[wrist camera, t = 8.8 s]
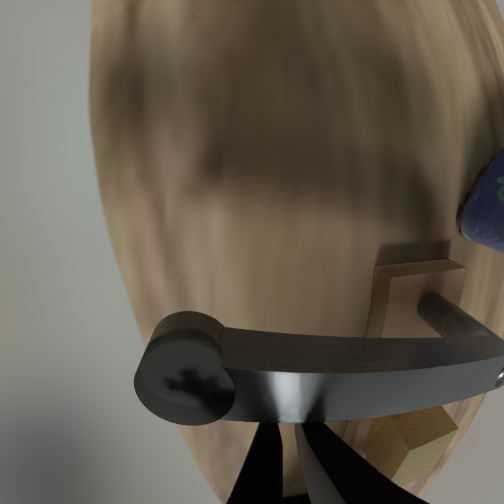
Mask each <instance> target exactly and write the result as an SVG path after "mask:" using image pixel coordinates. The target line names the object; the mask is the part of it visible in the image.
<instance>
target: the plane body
mask: <svg viewBox="0 0 504 504" xmlns="http://www.w3.org/2000/svg"><path fill="white" fill-rule="evenodd" d="M465 272H466V267H464V266H462V265H459V264H457V263H455V262H453V261H451V260H449V259H441V260H431V261H421V262H411V263H400V264H389V265H378V266H375V270H374V280H373V289H372V298H371V306H370V313H369V320H368V327H367V333H366V338H432V337H441V336H440V335H439V334H438V333H437V332H436V331H435V330H434V329H432V328H431V327H430V326H429V325H428V324H427V323H426V322H424V321H423V320H422V319H421V318H420V316H419V307H420V304H421V302H422V300H423V299H424V298H425V297H426V296H427V295H428V294H430V293H432V292H437V293H439V294H440V295H442V296H443V297H445V298H446V299H447V300H449V301H450V302H452V303H453V304H455V305H456V306H459V302H460V298H461V293H462V288H463V283H464V278H465ZM372 420H373V418H365V419H356V420H348V421H347V425H346V429H345V432H344V436H343V439H342V440H343V441H344V442H345V443H347V444H348V445H349V446H350V447H351V448H352V449H354V450H355V451H356V452H357V453H358V454H359V455H361V456H362V457H363V458H364V459H365V460H366V461H368V460H367V458H366V455H365V453H364V451H363V449H362V447H363V445H364V442H365V439H366V437H367V434H368V431H369V429H370V426H371V423H372Z"/></svg>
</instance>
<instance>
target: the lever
mask: <svg viewBox="0 0 504 504" xmlns="http://www.w3.org/2000/svg"><path fill="white" fill-rule="evenodd" d="M419 316H420V318H421V319H422V320H423V321H424V322H426V323H427V324H428V325H429V326H430V327H431V328H432V329H434V330H435V331H436V332H437V333H438V334H439V335H440V336H441V337H432V338H360V337H334V336H315V335H300V334H287V333H275V332H264V331H254V330H245V329H236V328H228V327H224V326H223V325H222V324H221V323H220V322H219V321H217V320H216V319H214V318H213V317H211V316H208V315H206V314H203V313H199V312H193V311H183V312H177V313H173V314H171V315H169V316H167V317H165V318H164V319H162V320H161V321H160V322H159V323H158V324H157V326H156V327H155V329H154V332H153V334H152V336H151V338H150V341H149V343H148V345H147V348H146V350H145V352H144V355H143V357H142V359H141V362H140V364H139V367H138V369H137V371H136V374H135V377H134V387H135V391H136V394H137V396H138V398H139V400H140V401H141V402H142V404H143V405H144V406H145V407H146V408H147V409H148V410H150V411H151V412H152V413H154V414H155V415H157V416H158V417H160V418H162V419H164V420H167V421H169V422H172V423H176V424H181V425H191V426H196V425H204V424H209V423H212V422H215V421H217V420H230V421H243V422H264V423H311V422H332V421H345V420H356V419H365V418H374V417H381V416H388V415H394V414H400V413H406V412H412V411H417V410H422V409H426V408H431V407H435V406H440V405H444V404H448V403H451V402H455V401H459V400H462V399H466V398H469V397H473V396H476V395H479V394H482V393H485V392H488V391H491V390H494V389H497V388H499V387H501V386H503V385H504V340H503V339H502V338H500V337H499V336H498V335H496V334H495V333H494V332H492V331H491V330H490V329H488V328H487V327H486V326H484V325H483V324H482V323H480V322H479V321H477V320H476V319H475V318H473V317H472V316H470V315H469V314H468V313H466V312H465V311H463V310H462V309H461V308H459V307H458V306H456V305H455V304H453V303H452V302H450V301H449V300H447V299H446V298H445V297H443V296H442V295H440V294H439V293H437V292H432V293H430V294H428V295H427V296H426V297H425V298H424V299H423V300H422V302H421V304H420V307H419Z"/></svg>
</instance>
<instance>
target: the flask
mask: <svg viewBox="0 0 504 504" xmlns="http://www.w3.org/2000/svg"><path fill="white" fill-rule="evenodd" d="M456 221H457V229H458V231H459V230H460V228H461V232H460V231H459V232H460V235H462V237H464V238H465V239H467V240H470V241H472V242H476V243H480V244H482V245H485V246H488V247H490V248H493V249H495V250H497V251H500V252H502V253H504V147H501V148H500V149H498V150H497V151H496V152H495V153H494V154H493V155H492V156H491V157H490V159H489V160H487V162H486V163H485V166H484V167H483V168H482V170H481V173H480V175H479V176H478V177H477V179H476V180H475V182H474V184H473V186H472V187H471V189H470V191H469V192H468V194H467V196H466V198H465V199H464V200H463V202H462V205H461V208H460V211H459V213H458V217H457V219H456Z"/></svg>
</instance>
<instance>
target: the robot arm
mask: <svg viewBox="0 0 504 504" xmlns="http://www.w3.org/2000/svg"><path fill="white" fill-rule="evenodd" d="M295 436H296V442H297V449H298V455H299V461H300V467H301V472H302V475H303V479H304V482H305V485H306V488H307V491H308V494H309V495H305V496H298V497H292V498H284V499H283V445H282V439H281V434H280V430H279V426H278V423H264V422H260V423H259V425H258V428H257V430H256V433H255V436H254V438H253V441H252V443H251V446H250V449H249V451H248V454H247V456H246V459H245V461H244V464H243V466H242V468H241V471H240V473H239V476H238V478H237V480H236V483H235V485H234V487H233V490H232V492H231V494H230V497H229V499H228V501H227V503H226V504H429V503H427V502H426V501H424V500H422V499H420V498H418V497H416V496H414V495H413V494H411V493H409V492H408V491H406V490H404V489H403V488H401V487H400V486H398V485H397V484H395V483H394V482H393V481H391V480H390V479H389V478H387V477H386V476H385V475H384V474H382V473H381V472H379V470H377V469H376V468H375V467H374V466H372V465H371V464H370V463H369V462H368V461H366V460H365V459H364V458H363V457H362V456H361V455H359V454H358V453H357V452H356V451H355V450H354V449H352V448H351V447H350V446H349V445H348V444H347V443H345V442H344V441H343V440H342V439H341V438H340V437H339V436H338V435H336V434H335V433H334V432H333V431H332V430H331V429H330V428H329V427H328V426H327V425H325V424H324V423H323V422H311V423H295Z"/></svg>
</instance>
